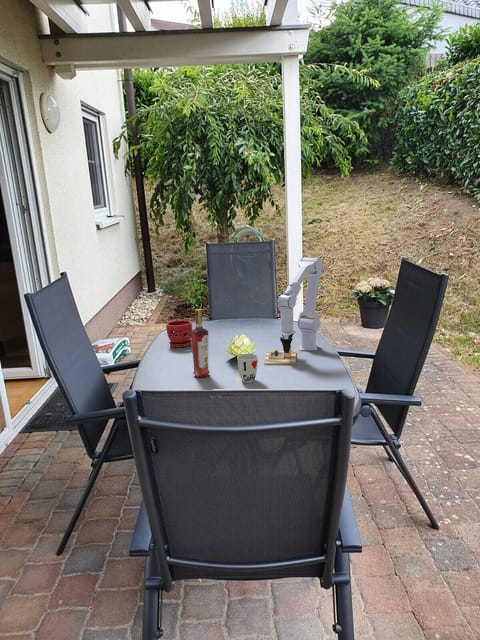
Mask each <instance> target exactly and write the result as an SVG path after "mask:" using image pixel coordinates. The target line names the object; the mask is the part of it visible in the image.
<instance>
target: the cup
mask: <svg viewBox="0 0 480 640" xmlns="http://www.w3.org/2000/svg"><path fill="white" fill-rule="evenodd" d="M236 358H237V367H238V373H239V376H240V379H241V382H242V383H248V384H249V383H254V382H255V381H256V377H257V371H258V361H259V360H258V359H259V356H258V355H257V354H255V353H242V354H239V355H237V357H236Z"/></svg>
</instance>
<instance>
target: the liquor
mask: <svg viewBox="0 0 480 640" xmlns="http://www.w3.org/2000/svg"><path fill="white" fill-rule="evenodd" d="M194 312H195V313H194V314H195V315H194V316H195V328H192V331H191V332H190V334H191V339H190V340H191V344H190V345H191V349H192V350H191V351H192V360H193V372H192V373H193V375H194V376H195V377H197V378H205V377H207V376H208V375H209V374H210V373H211V372H210V370H209V330H208V329H206V328H204V327H203V319H202V317H203V316H202V314H203V310H202V309H201V308H198V309H197V308H196V309H195V310H194Z"/></svg>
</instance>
